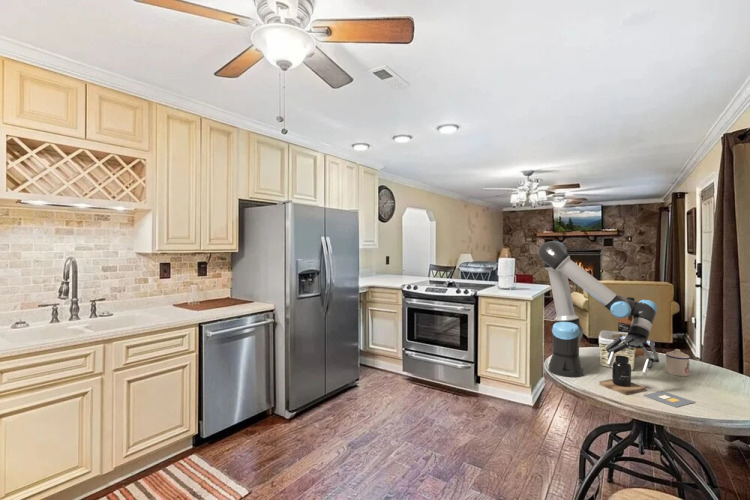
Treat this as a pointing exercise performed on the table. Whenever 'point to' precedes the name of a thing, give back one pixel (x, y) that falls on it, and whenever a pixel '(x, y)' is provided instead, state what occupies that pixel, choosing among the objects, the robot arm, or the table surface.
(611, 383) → the walnut board
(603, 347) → the storage basket
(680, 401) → the gray card
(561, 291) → the robot arm
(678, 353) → the teacup with lid
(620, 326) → the whiskey bottle
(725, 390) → the table surface
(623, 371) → the supplement bottle
